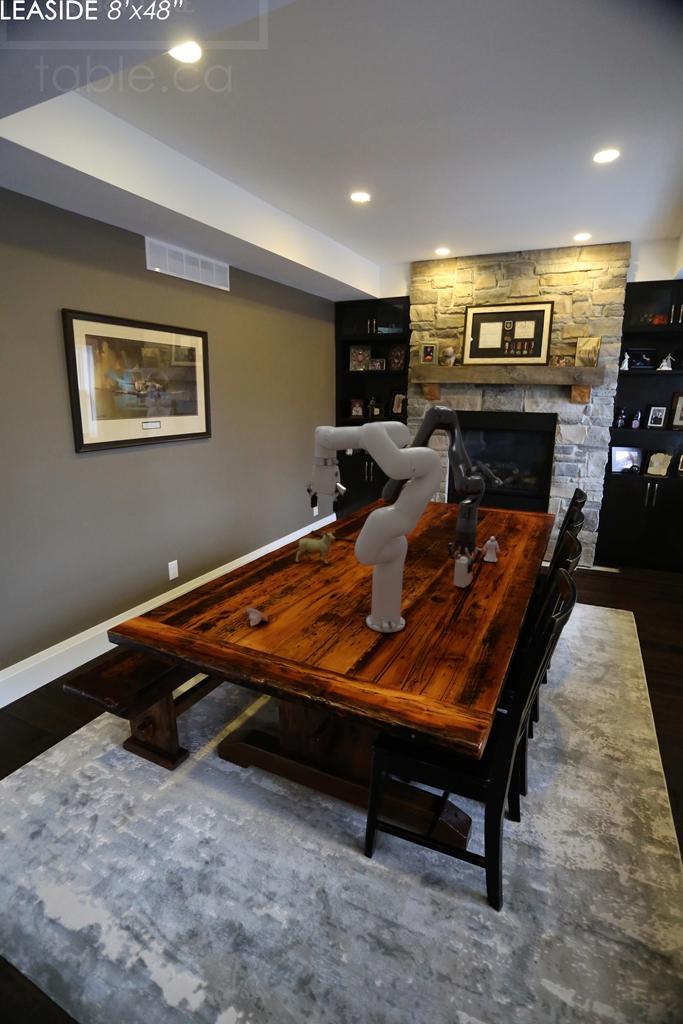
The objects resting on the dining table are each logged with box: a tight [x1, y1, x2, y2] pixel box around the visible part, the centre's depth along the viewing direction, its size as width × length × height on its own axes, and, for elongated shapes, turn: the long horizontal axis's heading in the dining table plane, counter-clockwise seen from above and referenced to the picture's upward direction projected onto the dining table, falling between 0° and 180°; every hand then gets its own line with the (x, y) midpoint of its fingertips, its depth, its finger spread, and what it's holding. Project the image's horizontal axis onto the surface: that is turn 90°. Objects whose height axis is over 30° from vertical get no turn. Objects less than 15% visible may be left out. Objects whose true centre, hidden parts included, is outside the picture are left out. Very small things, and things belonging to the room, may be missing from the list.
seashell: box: [245, 607, 269, 627], centre depth 160 cm, size 8×5×8 cm
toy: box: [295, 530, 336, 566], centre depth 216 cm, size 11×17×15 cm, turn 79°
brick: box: [452, 556, 472, 588], centre depth 192 cm, size 4×7×10 cm, turn 146°
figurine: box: [482, 535, 501, 563], centre depth 223 cm, size 8×8×12 cm
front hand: (324, 509), depth 180 cm, fingers open, 9 cm apart
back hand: (462, 571), depth 192 cm, fingers closed on brick, 4 cm apart
